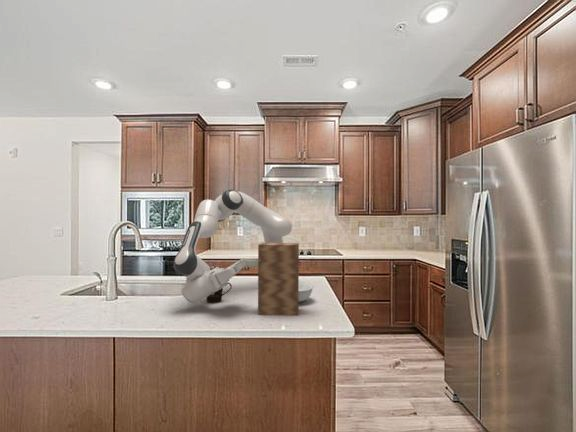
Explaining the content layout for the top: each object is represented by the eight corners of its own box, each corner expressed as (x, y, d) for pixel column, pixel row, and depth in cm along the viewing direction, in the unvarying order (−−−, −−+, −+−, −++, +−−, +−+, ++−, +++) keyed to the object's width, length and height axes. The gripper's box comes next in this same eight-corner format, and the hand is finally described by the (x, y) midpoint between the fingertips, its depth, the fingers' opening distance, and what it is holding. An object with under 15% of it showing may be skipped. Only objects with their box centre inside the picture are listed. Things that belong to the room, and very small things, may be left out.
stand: (258, 314, 142) (258, 244, 141) (261, 308, 152) (261, 242, 151) (298, 315, 141) (298, 245, 141) (298, 308, 151) (298, 243, 151)
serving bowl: (309, 308, 152) (309, 292, 152) (262, 305, 156) (262, 289, 156) (315, 297, 173) (315, 283, 173) (273, 294, 177) (273, 281, 177)
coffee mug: (200, 302, 161) (200, 280, 161) (212, 298, 169) (213, 277, 169) (220, 305, 156) (221, 282, 156) (232, 301, 163) (232, 279, 163)
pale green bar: (239, 267, 145) (239, 260, 145) (241, 265, 149) (241, 259, 149) (293, 267, 144) (293, 260, 144) (293, 266, 148) (293, 259, 148)
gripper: (227, 280, 158) (254, 264, 157) (216, 289, 137) (247, 272, 137) (220, 267, 158) (247, 252, 157) (208, 275, 137) (239, 258, 137)
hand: (247, 261), depth 147 cm, fingers closed on pale green bar, 4 cm apart
